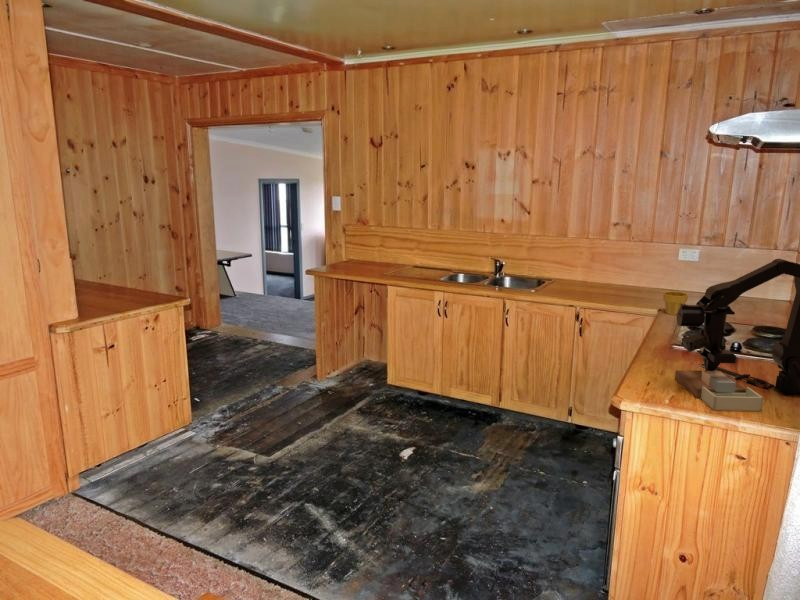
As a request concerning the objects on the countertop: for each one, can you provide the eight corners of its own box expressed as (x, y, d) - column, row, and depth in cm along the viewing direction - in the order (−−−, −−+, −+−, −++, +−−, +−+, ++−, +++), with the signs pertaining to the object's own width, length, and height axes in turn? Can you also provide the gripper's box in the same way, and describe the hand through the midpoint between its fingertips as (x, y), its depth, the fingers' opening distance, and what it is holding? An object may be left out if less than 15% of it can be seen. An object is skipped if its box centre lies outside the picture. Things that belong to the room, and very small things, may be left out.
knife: (695, 366, 193) (695, 362, 193) (709, 363, 195) (710, 360, 195) (761, 391, 170) (762, 387, 170) (777, 388, 172) (777, 384, 172)
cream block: (718, 380, 170) (719, 371, 170) (725, 386, 166) (726, 376, 165) (701, 379, 171) (702, 370, 170) (708, 385, 166) (709, 376, 165)
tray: (746, 399, 163) (748, 387, 162) (761, 411, 155) (763, 397, 154) (700, 399, 164) (702, 386, 163) (713, 410, 156) (715, 397, 155)
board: (719, 379, 179) (720, 370, 178) (745, 399, 163) (746, 389, 163) (674, 378, 180) (675, 370, 180) (696, 398, 165) (697, 388, 164)
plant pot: (665, 316, 259) (667, 295, 257) (659, 310, 269) (660, 291, 267) (689, 316, 258) (691, 296, 255) (681, 311, 268) (683, 291, 265)
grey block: (726, 386, 166) (727, 376, 165) (734, 392, 161) (735, 382, 160) (708, 385, 166) (710, 376, 165) (716, 392, 161) (717, 382, 161)
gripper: (674, 319, 178) (670, 364, 182) (700, 335, 160) (694, 386, 163) (710, 319, 177) (705, 365, 180) (740, 336, 159) (733, 386, 162)
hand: (708, 375), depth 172 cm, fingers closed
